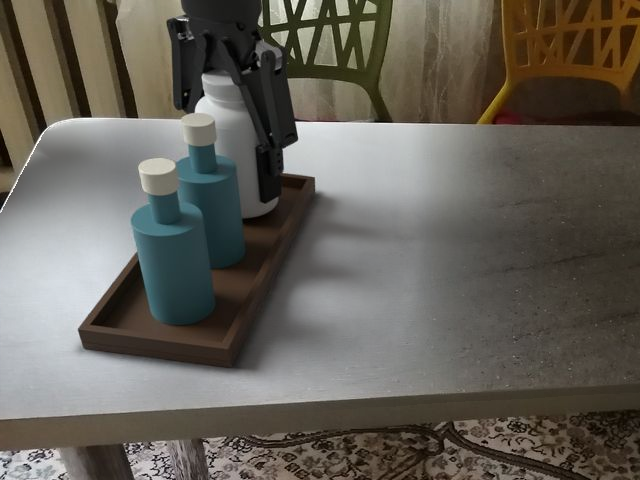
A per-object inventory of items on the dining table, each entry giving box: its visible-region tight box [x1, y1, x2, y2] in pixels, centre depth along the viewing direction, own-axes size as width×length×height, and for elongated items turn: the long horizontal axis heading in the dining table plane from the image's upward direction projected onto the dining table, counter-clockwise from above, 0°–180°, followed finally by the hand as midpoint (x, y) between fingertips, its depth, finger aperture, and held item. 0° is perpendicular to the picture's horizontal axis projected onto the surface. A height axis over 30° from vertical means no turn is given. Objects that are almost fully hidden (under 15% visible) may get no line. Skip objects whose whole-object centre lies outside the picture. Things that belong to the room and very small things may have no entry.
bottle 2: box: [175, 113, 245, 269], centre depth 75 cm, size 6×6×15 cm
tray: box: [77, 172, 316, 369], centre depth 79 cm, size 33×14×2 cm, turn 175°
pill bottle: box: [195, 68, 278, 218], centre depth 82 cm, size 8×8×15 cm
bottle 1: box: [130, 157, 216, 325], centre depth 68 cm, size 6×6×15 cm
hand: (241, 185), depth 85 cm, fingers closed on pill bottle, 8 cm apart
